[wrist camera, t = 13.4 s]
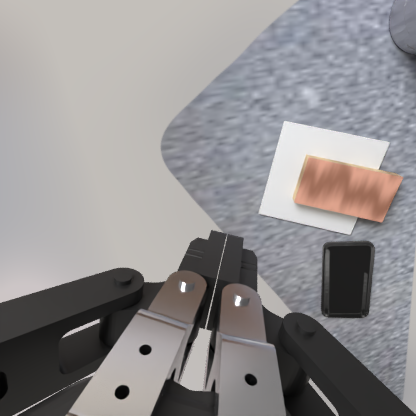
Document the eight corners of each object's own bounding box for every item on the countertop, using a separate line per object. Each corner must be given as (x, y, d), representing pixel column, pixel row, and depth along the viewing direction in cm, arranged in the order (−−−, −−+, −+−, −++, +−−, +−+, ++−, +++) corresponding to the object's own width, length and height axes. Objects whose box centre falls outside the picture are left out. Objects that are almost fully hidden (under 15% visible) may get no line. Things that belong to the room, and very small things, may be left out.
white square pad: (284, 120, 41) (284, 120, 41) (388, 142, 40) (390, 142, 40) (258, 212, 47) (258, 213, 47) (349, 233, 46) (350, 235, 45)
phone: (321, 317, 51) (323, 244, 46) (320, 312, 52) (322, 241, 47) (368, 318, 50) (376, 242, 45) (366, 313, 51) (373, 239, 46)
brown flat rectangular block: (308, 157, 40) (403, 177, 39) (306, 154, 42) (395, 173, 41) (294, 202, 42) (382, 222, 41) (292, 197, 45) (375, 216, 44)
